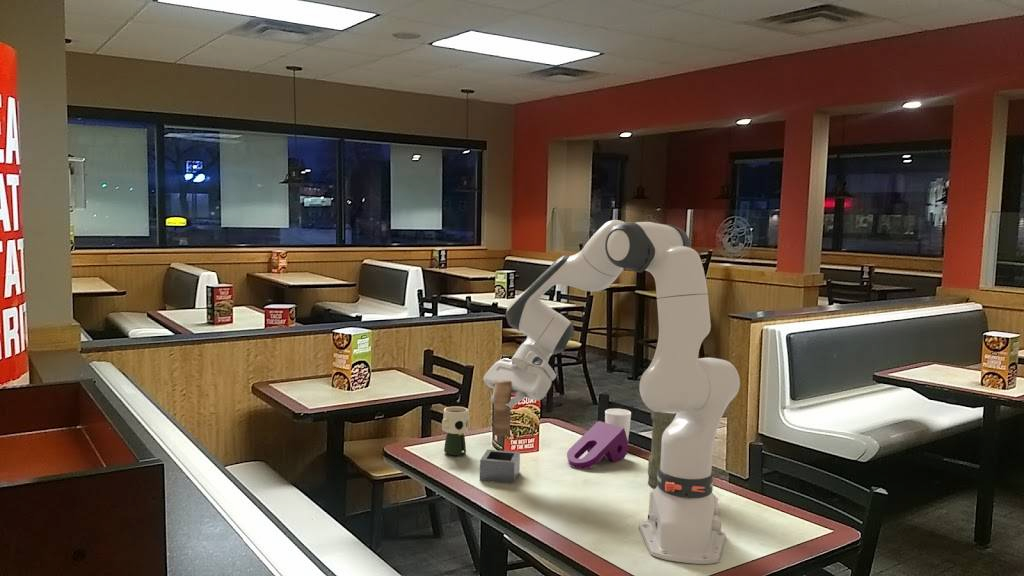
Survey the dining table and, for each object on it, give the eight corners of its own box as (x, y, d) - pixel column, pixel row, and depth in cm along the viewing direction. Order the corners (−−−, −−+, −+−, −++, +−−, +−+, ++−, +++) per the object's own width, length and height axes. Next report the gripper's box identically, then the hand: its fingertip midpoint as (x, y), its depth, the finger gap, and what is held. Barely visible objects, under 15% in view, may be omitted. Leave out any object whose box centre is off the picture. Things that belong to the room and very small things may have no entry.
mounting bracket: (593, 490, 212) (630, 451, 223) (585, 466, 209) (624, 428, 220) (567, 480, 219) (605, 443, 230) (560, 457, 216) (598, 420, 226)
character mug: (450, 461, 214) (452, 415, 213) (432, 455, 219) (433, 410, 218) (476, 452, 223) (478, 408, 222) (458, 446, 227) (459, 403, 226)
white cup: (615, 438, 242) (617, 407, 241) (634, 444, 236) (636, 412, 235) (598, 442, 237) (599, 410, 236) (617, 449, 231) (619, 416, 230)
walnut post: (508, 436, 200) (510, 383, 199) (491, 435, 201) (493, 382, 199) (511, 432, 204) (512, 380, 203) (494, 430, 205) (496, 379, 204)
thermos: (678, 495, 194) (686, 358, 191) (636, 484, 201) (643, 352, 198) (693, 486, 201) (701, 354, 198) (652, 475, 208) (659, 347, 205)
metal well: (513, 483, 198) (514, 462, 198) (479, 480, 200) (480, 459, 199) (519, 472, 207) (520, 452, 207) (486, 469, 209) (487, 449, 208)
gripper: (495, 350, 213) (467, 390, 207) (550, 362, 198) (522, 405, 192) (506, 364, 216) (479, 403, 210) (561, 377, 202) (534, 420, 196)
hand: (500, 404), depth 201 cm, fingers closed on walnut post, 4 cm apart
